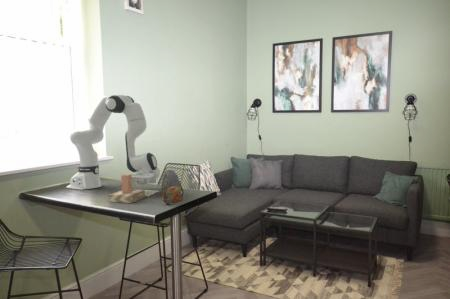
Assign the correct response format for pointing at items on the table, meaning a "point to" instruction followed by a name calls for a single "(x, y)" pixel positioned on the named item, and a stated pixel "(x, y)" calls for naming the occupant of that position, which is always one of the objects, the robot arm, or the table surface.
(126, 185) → the block
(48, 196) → the table surface
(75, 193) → the table surface
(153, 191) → the mat
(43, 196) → the table surface
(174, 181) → the decorative rock
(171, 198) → the tin
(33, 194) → the table surface
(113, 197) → the deck
